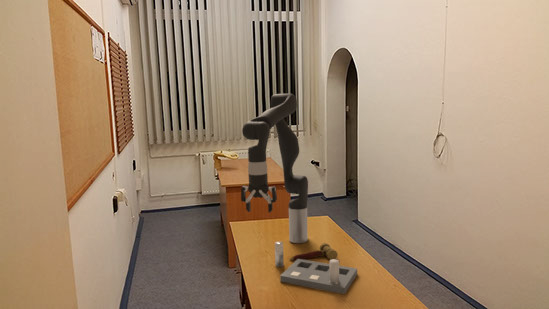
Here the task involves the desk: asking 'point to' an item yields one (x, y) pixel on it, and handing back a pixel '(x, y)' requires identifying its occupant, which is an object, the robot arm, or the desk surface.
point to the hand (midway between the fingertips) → (259, 211)
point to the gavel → (318, 253)
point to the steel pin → (279, 254)
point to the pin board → (320, 275)
